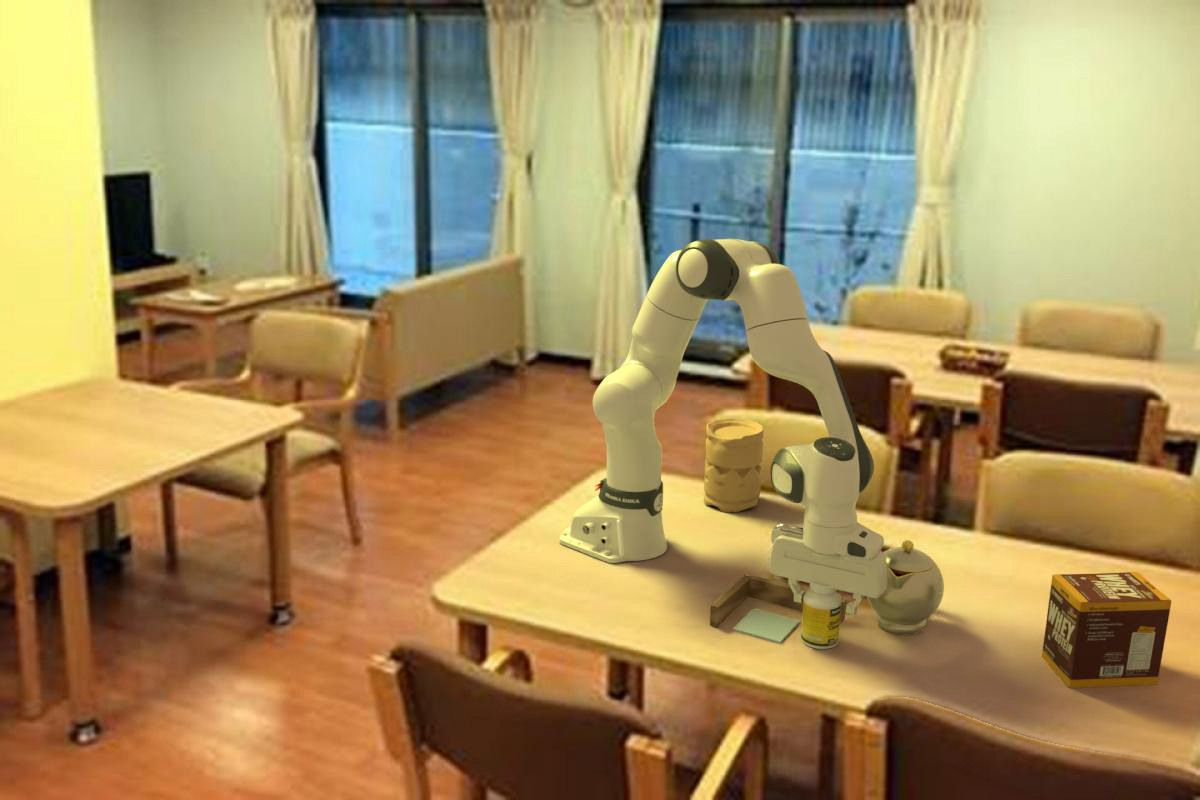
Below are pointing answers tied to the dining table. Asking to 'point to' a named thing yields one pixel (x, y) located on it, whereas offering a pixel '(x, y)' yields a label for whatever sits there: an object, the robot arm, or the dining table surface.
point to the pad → (766, 625)
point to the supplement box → (1105, 629)
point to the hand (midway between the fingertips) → (824, 607)
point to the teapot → (908, 590)
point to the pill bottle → (821, 616)
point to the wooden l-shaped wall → (757, 597)
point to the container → (733, 464)
